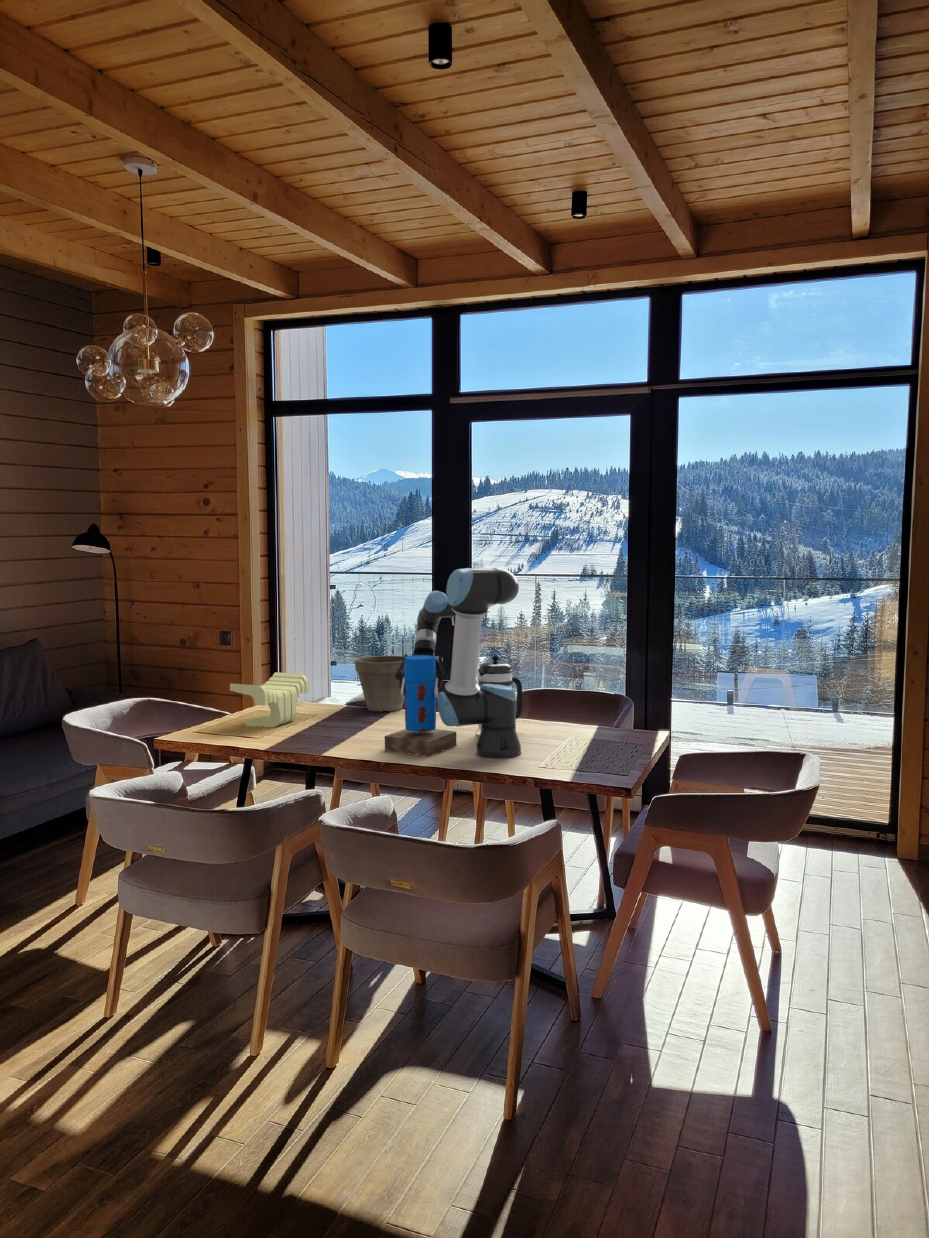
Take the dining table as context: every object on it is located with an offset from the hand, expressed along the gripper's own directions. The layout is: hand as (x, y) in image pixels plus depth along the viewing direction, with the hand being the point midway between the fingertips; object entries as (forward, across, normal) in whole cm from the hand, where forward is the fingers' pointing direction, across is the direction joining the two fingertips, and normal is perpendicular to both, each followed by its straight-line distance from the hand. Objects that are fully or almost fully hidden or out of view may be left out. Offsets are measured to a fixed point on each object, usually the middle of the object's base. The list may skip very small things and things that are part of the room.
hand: (419, 695), depth 313 cm
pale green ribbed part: (-15, +65, -42) cm, 79 cm away
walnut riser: (+11, 0, -15) cm, 19 cm away
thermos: (+7, 0, -11) cm, 13 cm away
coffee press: (-3, -25, -30) cm, 40 cm away
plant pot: (-37, +26, -65) cm, 79 cm away
